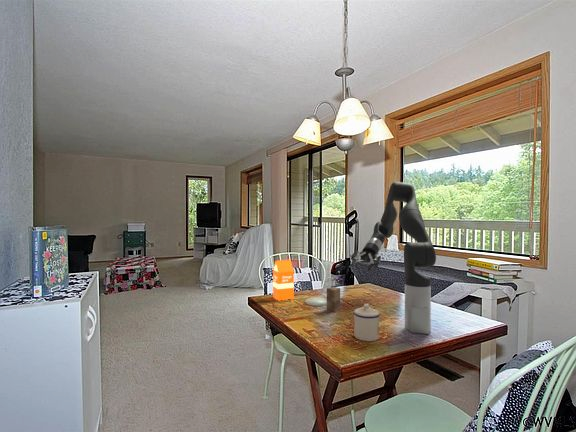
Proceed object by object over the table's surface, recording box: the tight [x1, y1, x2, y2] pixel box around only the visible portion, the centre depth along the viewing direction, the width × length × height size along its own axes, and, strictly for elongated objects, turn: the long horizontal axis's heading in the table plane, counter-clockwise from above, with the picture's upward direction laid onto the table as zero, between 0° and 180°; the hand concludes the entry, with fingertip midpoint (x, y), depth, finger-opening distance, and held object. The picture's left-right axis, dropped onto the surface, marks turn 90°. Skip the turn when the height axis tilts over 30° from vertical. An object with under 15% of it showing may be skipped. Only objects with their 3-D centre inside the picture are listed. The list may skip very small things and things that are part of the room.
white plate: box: [305, 296, 327, 307], centre depth 156 cm, size 11×11×1 cm
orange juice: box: [272, 259, 295, 302], centre depth 165 cm, size 8×9×20 cm
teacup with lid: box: [353, 303, 381, 342], centre depth 114 cm, size 12×9×12 cm
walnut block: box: [326, 286, 341, 313], centre depth 145 cm, size 4×4×10 cm
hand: (360, 267), depth 156 cm, fingers open, 8 cm apart
